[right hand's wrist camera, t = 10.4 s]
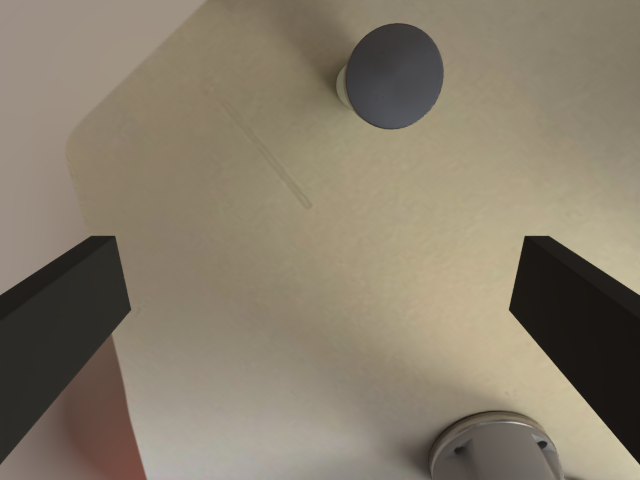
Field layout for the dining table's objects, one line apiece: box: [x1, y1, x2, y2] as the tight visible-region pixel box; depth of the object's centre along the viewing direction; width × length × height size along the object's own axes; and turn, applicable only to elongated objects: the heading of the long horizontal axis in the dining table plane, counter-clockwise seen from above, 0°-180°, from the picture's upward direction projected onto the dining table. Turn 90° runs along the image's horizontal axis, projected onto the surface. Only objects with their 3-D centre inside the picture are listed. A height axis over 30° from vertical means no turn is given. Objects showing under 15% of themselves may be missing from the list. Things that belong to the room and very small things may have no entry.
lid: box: [343, 23, 443, 129], centre depth 18 cm, size 4×4×2 cm
